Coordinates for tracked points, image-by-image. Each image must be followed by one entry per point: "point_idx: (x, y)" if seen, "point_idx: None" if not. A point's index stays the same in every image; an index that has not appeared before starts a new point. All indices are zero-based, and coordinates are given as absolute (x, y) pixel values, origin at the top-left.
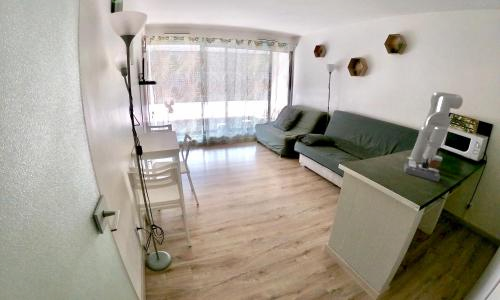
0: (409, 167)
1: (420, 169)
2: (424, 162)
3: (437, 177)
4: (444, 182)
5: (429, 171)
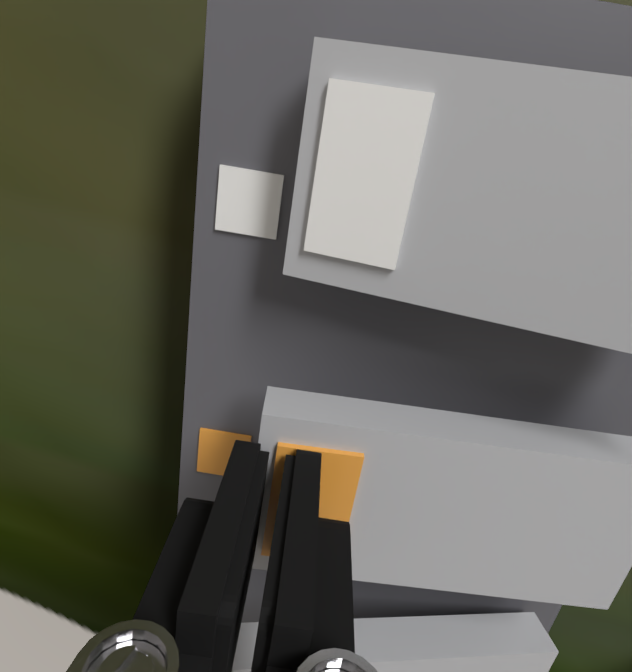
0: None
1: None
2: (157, 640)
3: None
4: None
5: None
